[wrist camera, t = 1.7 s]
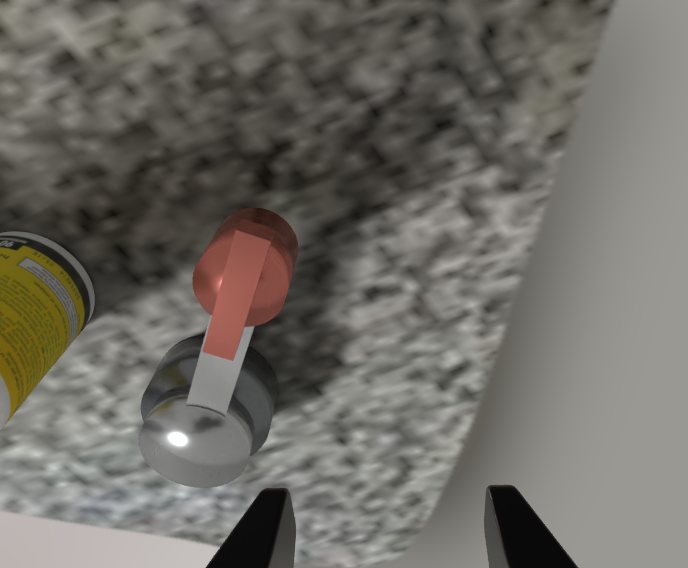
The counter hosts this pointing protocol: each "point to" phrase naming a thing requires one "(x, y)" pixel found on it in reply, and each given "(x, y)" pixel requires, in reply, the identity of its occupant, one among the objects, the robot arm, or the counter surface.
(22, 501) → the counter surface
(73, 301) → the supplement bottle
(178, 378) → the block
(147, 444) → the crank
